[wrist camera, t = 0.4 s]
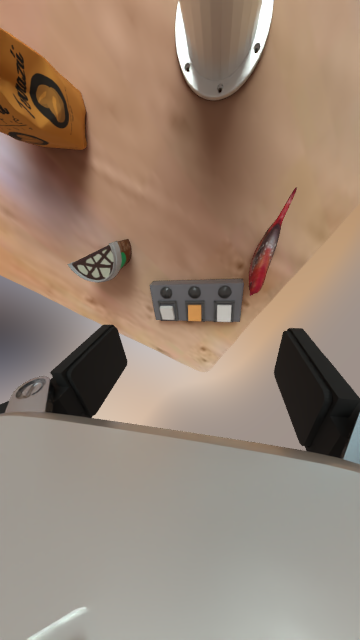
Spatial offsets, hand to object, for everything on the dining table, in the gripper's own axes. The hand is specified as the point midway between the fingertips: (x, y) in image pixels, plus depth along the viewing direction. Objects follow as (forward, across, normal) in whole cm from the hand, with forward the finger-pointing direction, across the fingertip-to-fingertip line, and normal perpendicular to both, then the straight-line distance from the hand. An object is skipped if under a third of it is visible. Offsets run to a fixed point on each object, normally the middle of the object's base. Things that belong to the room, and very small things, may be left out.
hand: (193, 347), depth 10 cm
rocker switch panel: (+34, +4, +11) cm, 36 cm away
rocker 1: (+30, +11, +13) cm, 35 cm away
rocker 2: (+30, -3, +13) cm, 33 cm away
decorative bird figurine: (+34, -10, -2) cm, 36 cm away
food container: (+34, +23, 0) cm, 41 cm away
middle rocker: (+30, +4, +13) cm, 33 cm away
